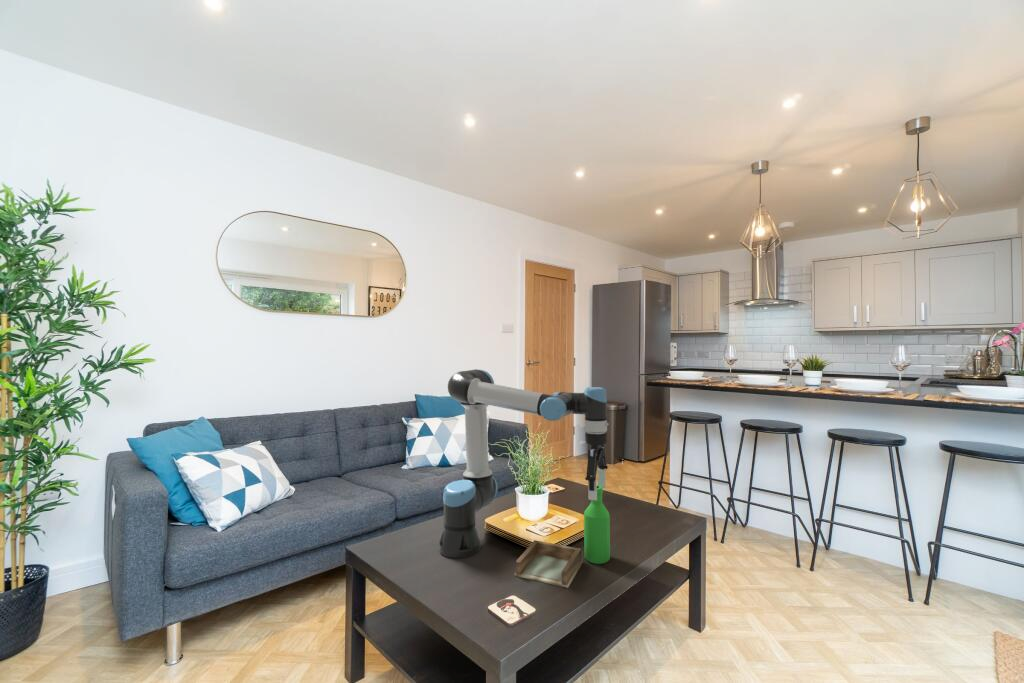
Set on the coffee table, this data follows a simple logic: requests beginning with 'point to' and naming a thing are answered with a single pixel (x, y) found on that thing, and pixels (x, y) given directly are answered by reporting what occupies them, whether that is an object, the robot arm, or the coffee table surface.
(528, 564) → the u rest
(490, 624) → the coffee table surface
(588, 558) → the bottle
